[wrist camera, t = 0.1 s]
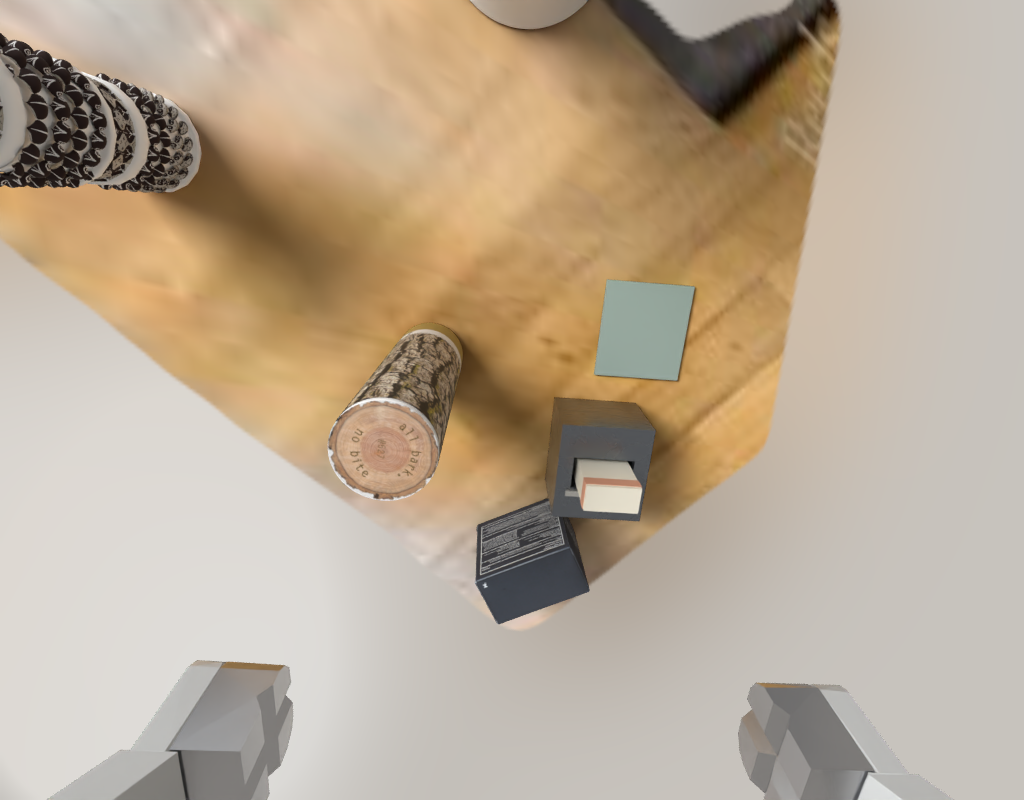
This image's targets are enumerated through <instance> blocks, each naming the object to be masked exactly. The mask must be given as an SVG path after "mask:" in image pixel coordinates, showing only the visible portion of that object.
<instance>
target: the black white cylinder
mask: <svg viewBox="0 0 1024 800" xmlns="http://www.w3.org/2000/svg"><path fill="white" fill-rule="evenodd" d="M201 155H202V152H201V146H200V141H199V135H198V133H197V131H196V129H195V127H194V125H193V124H192V122H191V120H190V118H189V116H188V115H187V114H186V113H185V112H184V111H182V110H181V109H180V108H179V107H178V106H177V105H176V104H175V103H174V102H173V101H171V100H168V99H166V98H164V97H162V96H161V95H157V94H154V93H152V92H150V91H147V90H146V89H144V88H140V89H138V88H137V87H136V86H135V85H133V84H131V83H129V84H127V85H126V84H125V83H124V82H121V81H120V80H118V79H115V78H114V79H110V78H109V77H108V76H107V75H105V74H102V73H100V74H97V75H96V76H93V75H90V74H87V73H84V72H80V71H79V70H78V69H77V68H76V67H74V66H72V65H71V64H70V63H69V62H67V61H65V60H61V59H58V60H57V59H55V58H53V57H51V56H50V54H49V53H47V52H45V51H42V50H36V51H33V49H32V48H31V47H30V46H29V45H28V44H26V43H24V42H21V41H17V40H11V41H8V40H7V38H6V37H4V36H3V35H2V34H1V33H0V172H4V173H0V187H1V186H4V185H6V186H8V187H11V188H15V187H25V186H27V185H28V186H30V187H33V188H41V187H44V186H46V185H48V186H50V187H53V188H56V187H66V186H68V187H71V188H77V187H79V185H84V184H86V183H88V184H97V185H98V186H100V187H101V188H103V189H106V190H109V189H111V188H112V187H113V188H114V189H116V190H129V191H132V192H137V191H141V192H156V193H162V192H174V191H176V190H179V189H181V188H183V187H185V186H187V185H188V184H189V183H190V182H191V180H192V179H193V178H194V176H195V175H196V174H197V172H198V170H199V165H200V160H201Z"/></svg>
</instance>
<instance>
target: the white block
mask: <svg viewBox="0 0 1024 800" xmlns="http://www.w3.org/2000/svg"><path fill="white" fill-rule="evenodd" d="M572 473H573V476H574V480H575V483H576V487H577V490H578V494H579V497H580V503H581V507H582V509H583V511H597V512H614V513H632V514H638V511H639V505H640V500H641V494H642V486H641V484H640V482H639V481H638V480H637V478H636V476H635V475H634V473H633V471H632V469H631V467H630V465H629V463H628V461H623V460H607V459H591V458H575V457H574V463H573V471H572Z"/></svg>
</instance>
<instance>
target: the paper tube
mask: <svg viewBox="0 0 1024 800" xmlns="http://www.w3.org/2000/svg"><path fill="white" fill-rule="evenodd" d="M462 361H463V350H462V346H461V343H460V341H459V339H458V338H457V336H456V335H455V334H454V333H453V332H452V331H451V330H450V329H448V328H447V327H445V326H443V325H440V324H436V323H422V324H419V325H416V326H414V327H412V328H411V329H409V330H408V331H407V332H406V333H405V334H404V336H403V337H402V338H401V339H400V340H399V342H398V343H397V344H396V345H395V347H394V348H393V349H392V350H391V352H390V353H389V354H388V355H387V357H386V358H385V359H384V360H383V362H382V363H381V364H380V366H379V367H378V368H377V369H376V371H375V372H374V373H373V374H372V376H371V377H370V378H369V379H368V381H367V382H366V383H365V384H364V386H363V387H362V388H361V390H360V391H359V392H358V393H357V395H356V396H355V397H354V398H353V400H352V401H351V402H350V403H349V405H348V406H347V407H346V408H345V410H344V411H343V412H342V414H341V415H340V416H339V417H338V419H337V420H336V422H335V424H334V425H333V427H332V429H331V432H330V435H329V439H328V455H329V460H330V463H331V465H332V468H333V470H334V471H335V473H336V475H337V476H338V477H339V479H340V480H341V481H342V482H343V483H344V484H345V485H346V486H347V487H349V488H350V489H351V490H353V491H354V492H356V493H358V494H360V495H362V496H364V497H367V498H371V499H375V500H382V501H391V500H399V499H403V498H406V497H409V496H411V495H413V494H415V493H416V492H418V491H420V490H421V489H422V488H423V487H424V486H425V485H426V484H427V483H428V482H429V481H430V479H431V478H432V476H433V474H434V472H435V470H436V467H437V465H438V461H439V457H440V453H441V449H442V445H443V441H444V437H445V432H446V428H447V424H448V420H449V416H450V412H451V408H452V404H453V400H454V395H455V391H456V387H457V383H458V379H459V375H460V371H461V366H462Z"/></svg>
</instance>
